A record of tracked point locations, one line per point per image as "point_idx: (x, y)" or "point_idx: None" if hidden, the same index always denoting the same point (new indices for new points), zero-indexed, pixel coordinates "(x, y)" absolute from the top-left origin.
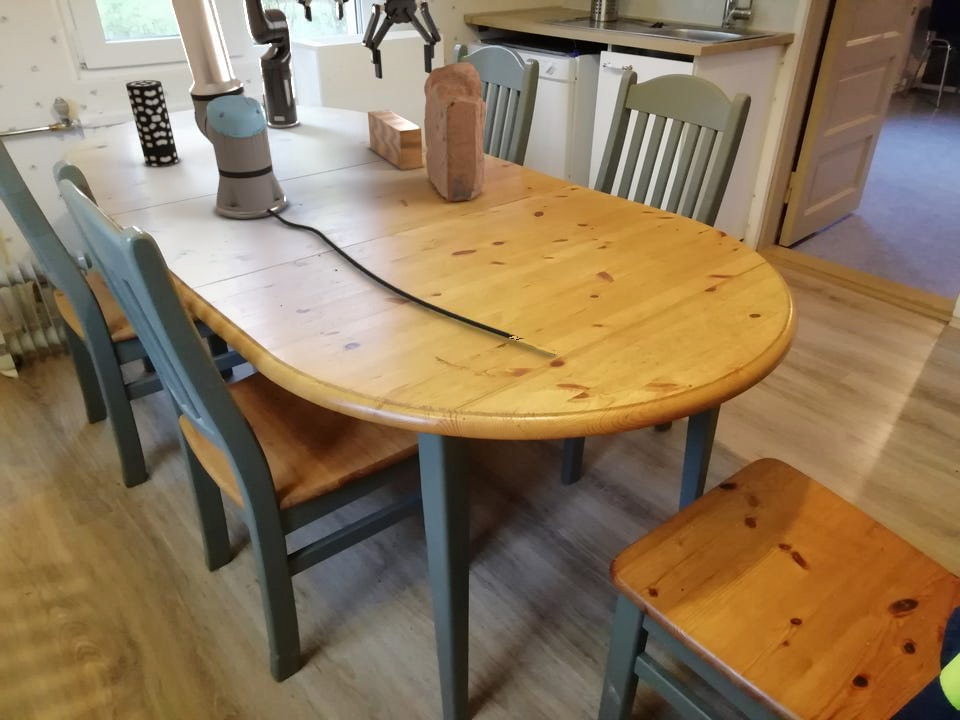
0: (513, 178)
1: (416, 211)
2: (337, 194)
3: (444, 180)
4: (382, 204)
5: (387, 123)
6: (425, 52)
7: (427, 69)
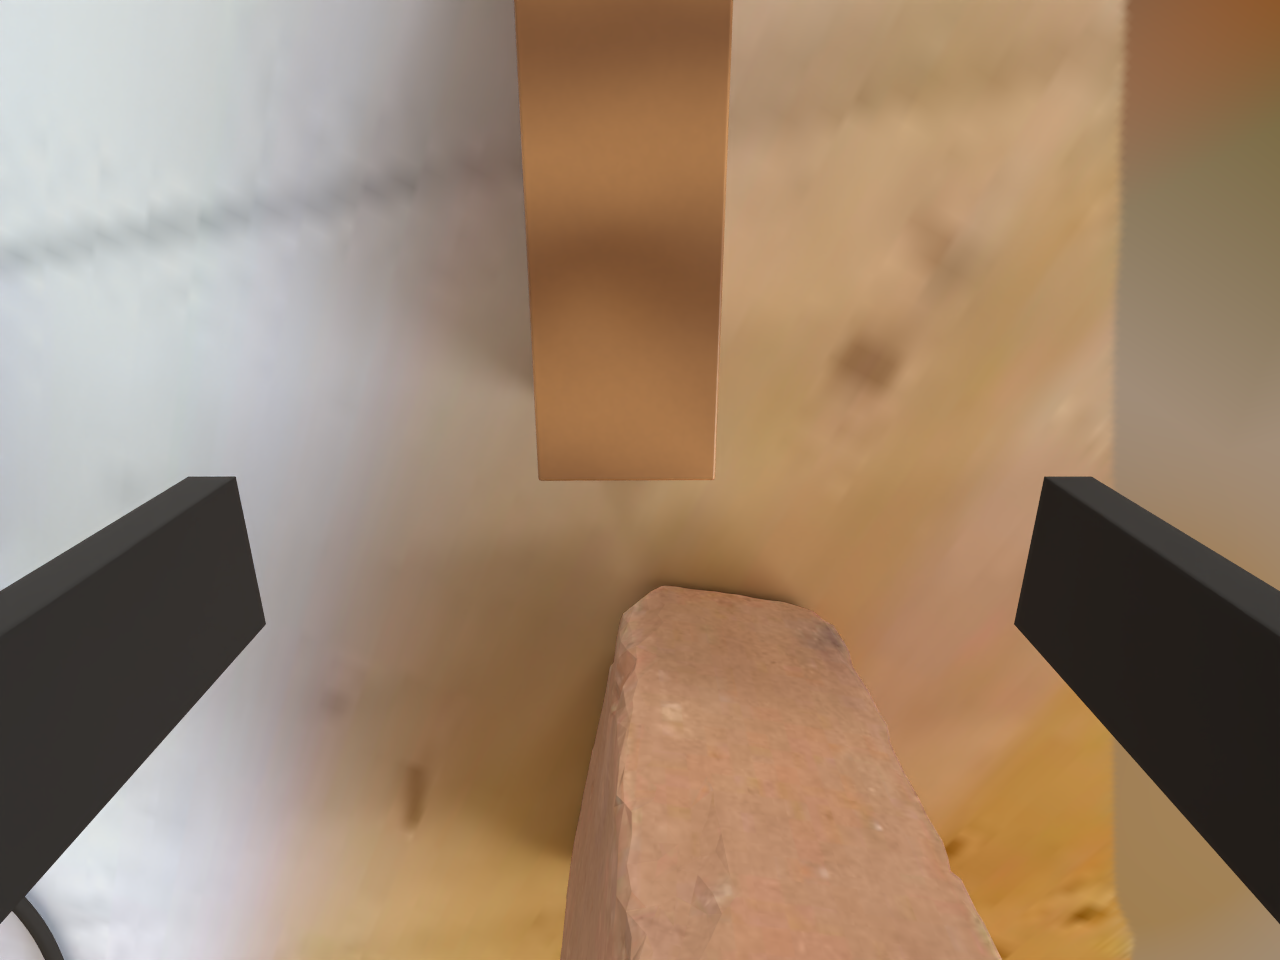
0: (981, 734)
1: (430, 876)
2: None
3: (567, 905)
4: (326, 775)
5: (526, 213)
6: (1264, 715)
7: (1050, 597)
